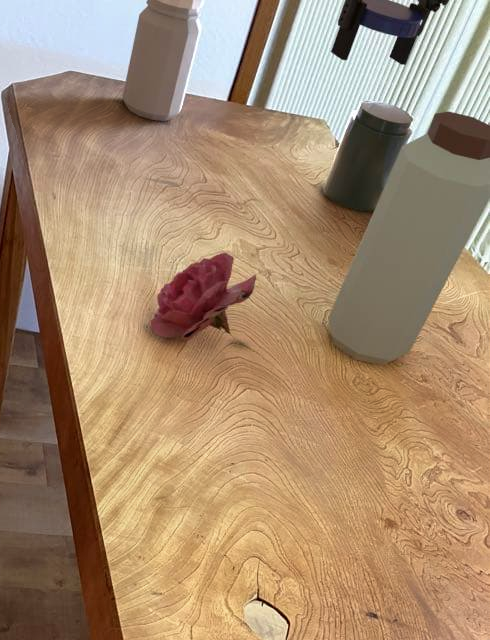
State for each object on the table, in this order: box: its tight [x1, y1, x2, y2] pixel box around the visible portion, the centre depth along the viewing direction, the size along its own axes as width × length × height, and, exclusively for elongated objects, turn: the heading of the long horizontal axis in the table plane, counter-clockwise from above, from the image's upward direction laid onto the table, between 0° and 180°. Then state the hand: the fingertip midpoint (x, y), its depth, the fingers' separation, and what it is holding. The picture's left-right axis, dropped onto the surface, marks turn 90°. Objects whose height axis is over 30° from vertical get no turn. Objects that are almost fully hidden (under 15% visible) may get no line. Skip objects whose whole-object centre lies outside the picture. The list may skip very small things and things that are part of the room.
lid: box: [360, 0, 423, 37], centre depth 114 cm, size 9×9×2 cm
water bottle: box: [327, 111, 490, 366], centre depth 95 cm, size 10×10×25 cm
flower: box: [150, 252, 257, 346], centre depth 96 cm, size 11×10×10 cm
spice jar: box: [322, 99, 414, 212], centre depth 131 cm, size 9×9×13 cm
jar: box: [122, 0, 205, 122], centre depth 139 cm, size 10×10×18 cm
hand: (368, 58), depth 117 cm, fingers closed on lid, 9 cm apart
